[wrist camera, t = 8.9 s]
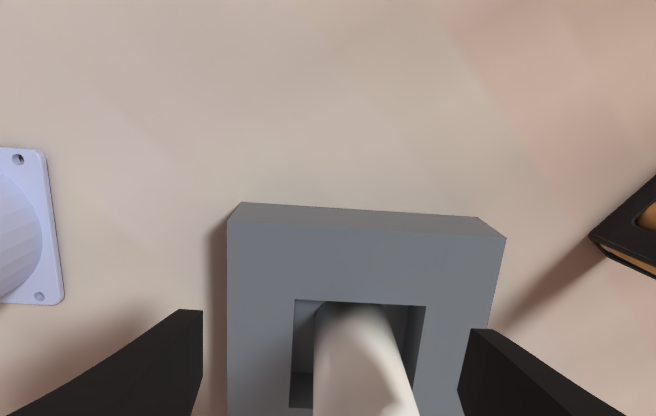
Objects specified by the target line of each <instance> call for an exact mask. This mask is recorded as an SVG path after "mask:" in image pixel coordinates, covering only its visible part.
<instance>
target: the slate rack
mask: <svg viewBox="0 0 656 416" xmlns="http://www.w3.org/2000/svg"><path fill="white" fill-rule="evenodd" d="M506 239H507V238H506V237H504V236H503V235H502V234H500V233H499V232H497V231H496V230H495V229H493V228H492V227H490V226H489V225H488V224H486V223H485V222H483V221H482V220H481V219H479V218H478V217H465V216H449V215H434V214H418V213H403V212H387V211H372V210H356V209H340V208H325V207H309V206H294V205H278V204H263V203H247V202H241V203H240V204H239V206H238V207H237V208H236V210H235V211H234V212H233V213H232V215H231V216H230V217H229V219H228V220H227V416H313V366H314V320H315V316H316V314H317V312H318V310H319V308H320V307H321V306H322V305H323V304H324V303H325V302H326V301H338V302H357V303H376V304H381V305H382V306H383V308H384V309H385V311H386V313H387V316H388V320H389V323H390V326H391V329H392V332H393V335H394V338H395V341H396V344H397V347H398V350H399V353H400V356H401V359H402V363H403V366H404V369H405V372H406V375H407V378H408V381H409V384H410V387H411V390H412V393H413V396H414V399H415V402H416V406H417V409H418V412H419V415H420V416H465V415H464V412H463V409H462V406H461V403H460V399H459V396H458V393H457V387H458V382H459V378H460V374H461V369H462V365H463V361H464V356H465V352H466V347H467V343H468V339H469V334H470V330H471V328H477V329H487V324H488V320H489V315H490V311H491V306H492V302H493V297H494V293H495V288H496V284H497V279H498V275H499V270H500V266H501V261H502V257H503V252H504V248H505V243H506Z"/></svg>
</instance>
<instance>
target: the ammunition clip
mask: <svg viewBox="0 0 656 416" xmlns="http://www.w3.org/2000/svg"><path fill="white" fill-rule="evenodd" d="M589 238H590V239H591V240H592V241H593V243H594V244H595V245H596V246H597V247H598V248H599V249H600V250H601V251H602V252H603V253H604V254H605V255H606V256H607V257H608V258H610V259H612V260H614V261H617V262H619V263H621V264H623V265H625V266H627V267H630V268H632V269H634V270H636V271H638V272H640V273H642V274H645V275H647V276H649V277H651V278H653V279H655V280H656V175H655V176H654V177H653V178H652V179H650V180H649V181H648V182H647V183H646V184H645V185H644V186H642V187H641V188H640V189H639V190H638V191H637V192H636V193H634V194H633V195H632V196H631V197H630V198H629V199H628V200H626V201H625V202H624V203H623V204H622V205H621V206H620V207H618V208H617V209H616V210H615V211H614V212H613V213H611V214H610V215H609V216H608V217H607V218H606V219H605V220H603V221H602V222H601V223H600V224H599V225H598V226H597V227H595V228H594V229H593V230H592V231H591V232H590V233H589Z"/></svg>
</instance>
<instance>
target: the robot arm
mask: <svg viewBox="0 0 656 416" xmlns="http://www.w3.org/2000/svg"><path fill="white" fill-rule="evenodd" d="M19 155H21V156H22V157H23V159H24V163H22V162H21V161H20V160H19ZM40 292H41V293H43V294H44V296H45V297H43V296H42V295H41V294H40ZM63 298H64V289H63V281H62V274H61V267H60V259H59V252H58V244H57V237H56V230H55V222H54V215H53V208H52V200H51V193H50V185H49V178H48V171H47V163H46V158H45V156H44V154H43V153H42V152H41V151H39V150H37V149H33V148H18V147H4V146H0V303H14V304H34V305H56V304H58V303H59V302H60V301H62V300H63ZM202 377H203V311H201V310H186V309H179V310H177V311H175V312H174V313H172V314H171V315H169V316H168V317H167V318H165V319H164V320H162V321H161V322H159V323H158V324H157V325H155V326H154V327H152V328H151V329H149V330H148V331H147V332H145V333H144V334H142V335H141V336H139V337H138V338H137V339H135V340H134V341H132V342H131V343H129V344H128V345H126V346H125V347H123V348H122V349H120V350H119V351H117V352H116V353H114V354H113V355H111V356H110V357H108V358H107V359H105V360H103V361H102V362H100V363H99V364H97V365H95V366H94V367H92V368H91V369H89V370H87V371H86V372H84V373H83V374H81V375H79V376H78V377H76V378H75V379H73V380H71V381H70V382H68V383H66V384H64V385H63V386H61V387H59V388H57V389H56V390H54V391H52V392H50V393H48V394H47V395H45V396H43V397H41V398H39V399H37V400H35V401H34V402H32V403H30V404H28V405H26V406H24V407H22V408H20V409H18V410H17V411H15V412H13V413H11V414H9V415H7V416H190V415H191V412H192V409H193V406H194V403H195V400H196V397H197V393H198V390H199V387H200V384H201V380H202ZM457 393H458V396H459V399H460V403H461V406H462V409H463V412H464V415H465V416H626V415H624V414H623V413H621V412H619V411H618V410H616V409H615V408H613V407H611V406H610V405H608V404H607V403H605V402H603V401H602V400H600V399H598V398H597V397H595V396H594V395H592V394H590V393H589V392H587V391H586V390H584V389H583V388H581V387H580V386H578V385H577V384H575V383H574V382H572V381H571V380H569V379H568V378H566V377H564V376H563V375H562V374H560V373H559V372H557V371H556V370H554V369H553V368H551V367H550V366H548V365H547V364H545V363H544V362H542V361H541V360H539V359H538V358H536V357H535V356H534V355H532V354H531V353H529V352H528V351H526V350H525V349H523V348H522V347H520V346H519V345H517V344H516V343H514V342H513V341H511V340H510V339H508V338H506V337H505V336H503V335H502V334H500V333H498V332H496V331H495V330H493V329H477V328H471V330H470V334H469V339H468V343H467V347H466V352H465V356H464V361H463V365H462V369H461V374H460V378H459V382H458V387H457Z"/></svg>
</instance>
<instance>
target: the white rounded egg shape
mask: <svg viewBox="0 0 656 416" xmlns="http://www.w3.org/2000/svg"><path fill="white" fill-rule="evenodd" d="M313 416H420V415H419V412H418V409H417V406H416V402H415V399H414V396H413V393H412V390H411V387H410V384H409V381H408V378H407V375H406V372H405V369H404V366H403V363H402V359H401V356H400V353H399V350H398V347H397V344H396V341H395V338H394V335H393V332H392V329H391V326H390V323H389V320H388V316H387V313H386V311H385V309H384V308H383V306H382V305H381V304H376V303H357V302H338V301H326V302H325V303H324V304H323V305H322V306H321V307H320V308H319V310H318V312H317V314H316V316H315V320H314V366H313Z"/></svg>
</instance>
